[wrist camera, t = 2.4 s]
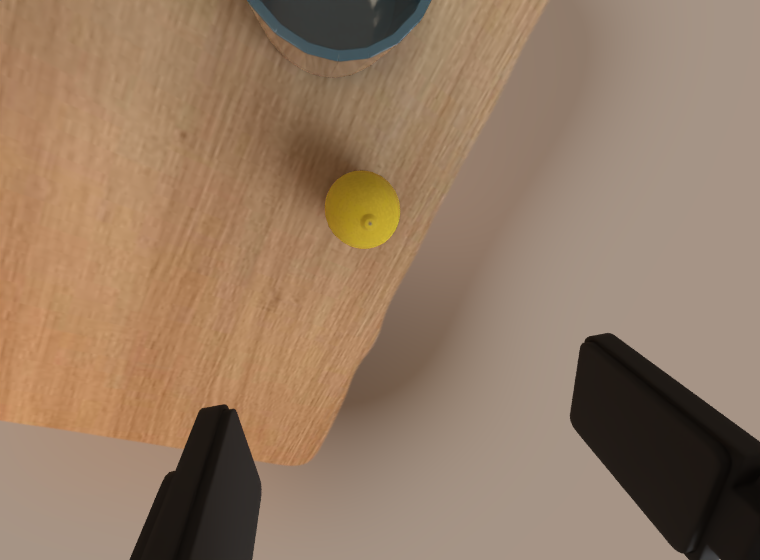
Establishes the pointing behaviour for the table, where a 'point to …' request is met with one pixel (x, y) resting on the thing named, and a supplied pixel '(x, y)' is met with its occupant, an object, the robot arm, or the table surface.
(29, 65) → the table surface
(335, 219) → the lemon
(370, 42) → the blue cylindrical container
